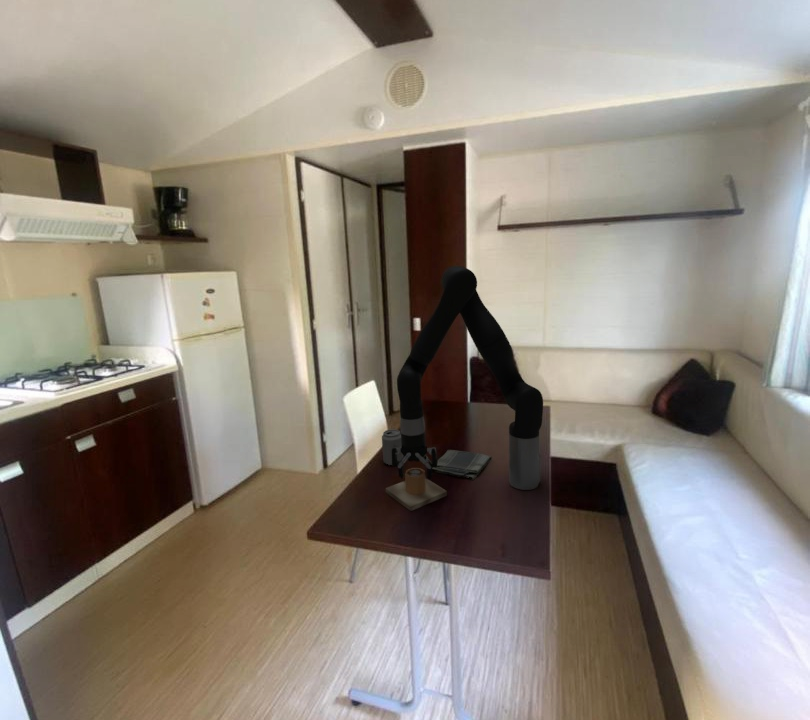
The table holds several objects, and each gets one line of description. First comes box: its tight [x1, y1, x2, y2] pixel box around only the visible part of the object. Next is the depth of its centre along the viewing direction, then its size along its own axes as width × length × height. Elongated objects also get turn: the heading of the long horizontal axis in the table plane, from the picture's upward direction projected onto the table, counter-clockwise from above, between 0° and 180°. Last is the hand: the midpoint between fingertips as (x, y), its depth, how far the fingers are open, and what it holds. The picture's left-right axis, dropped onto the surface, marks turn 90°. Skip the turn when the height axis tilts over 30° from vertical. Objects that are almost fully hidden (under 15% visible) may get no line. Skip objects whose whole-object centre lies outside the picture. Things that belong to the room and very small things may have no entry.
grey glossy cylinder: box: [410, 470, 420, 476], centre depth 135 cm, size 3×3×6 cm
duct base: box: [385, 477, 448, 512], centre depth 136 cm, size 14×14×2 cm
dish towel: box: [432, 449, 493, 481], centre depth 154 cm, size 19×18×3 cm
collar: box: [404, 467, 426, 495], centre depth 135 cm, size 6×6×6 cm
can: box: [381, 428, 404, 466], centre depth 158 cm, size 8×8×12 cm
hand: (415, 478), depth 135 cm, fingers open, 8 cm apart
